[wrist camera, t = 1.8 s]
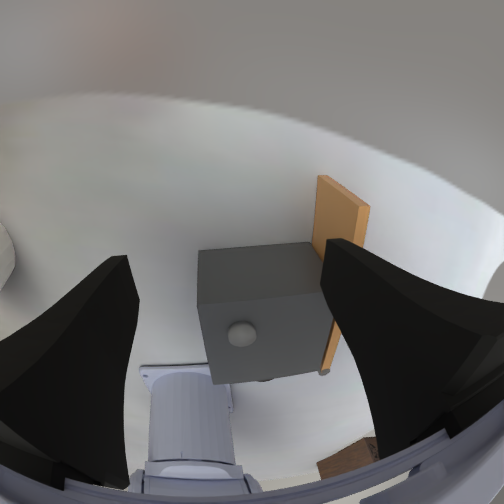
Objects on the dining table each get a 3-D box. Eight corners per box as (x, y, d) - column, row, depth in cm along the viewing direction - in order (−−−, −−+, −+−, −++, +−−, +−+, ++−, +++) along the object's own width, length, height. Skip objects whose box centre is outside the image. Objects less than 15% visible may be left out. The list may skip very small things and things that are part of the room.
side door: (309, 326, 22) (328, 374, 17) (299, 327, 21) (318, 376, 17) (328, 175, 15) (372, 206, 11) (316, 175, 15) (356, 206, 11)
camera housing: (297, 330, 22) (317, 385, 17) (211, 340, 21) (215, 400, 16) (309, 241, 18) (343, 295, 13) (198, 250, 17) (196, 312, 12)
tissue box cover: (316, 462, 50) (325, 495, 41) (363, 437, 45) (377, 473, 37) (368, 455, 60) (378, 480, 52) (407, 432, 56) (418, 458, 47)
